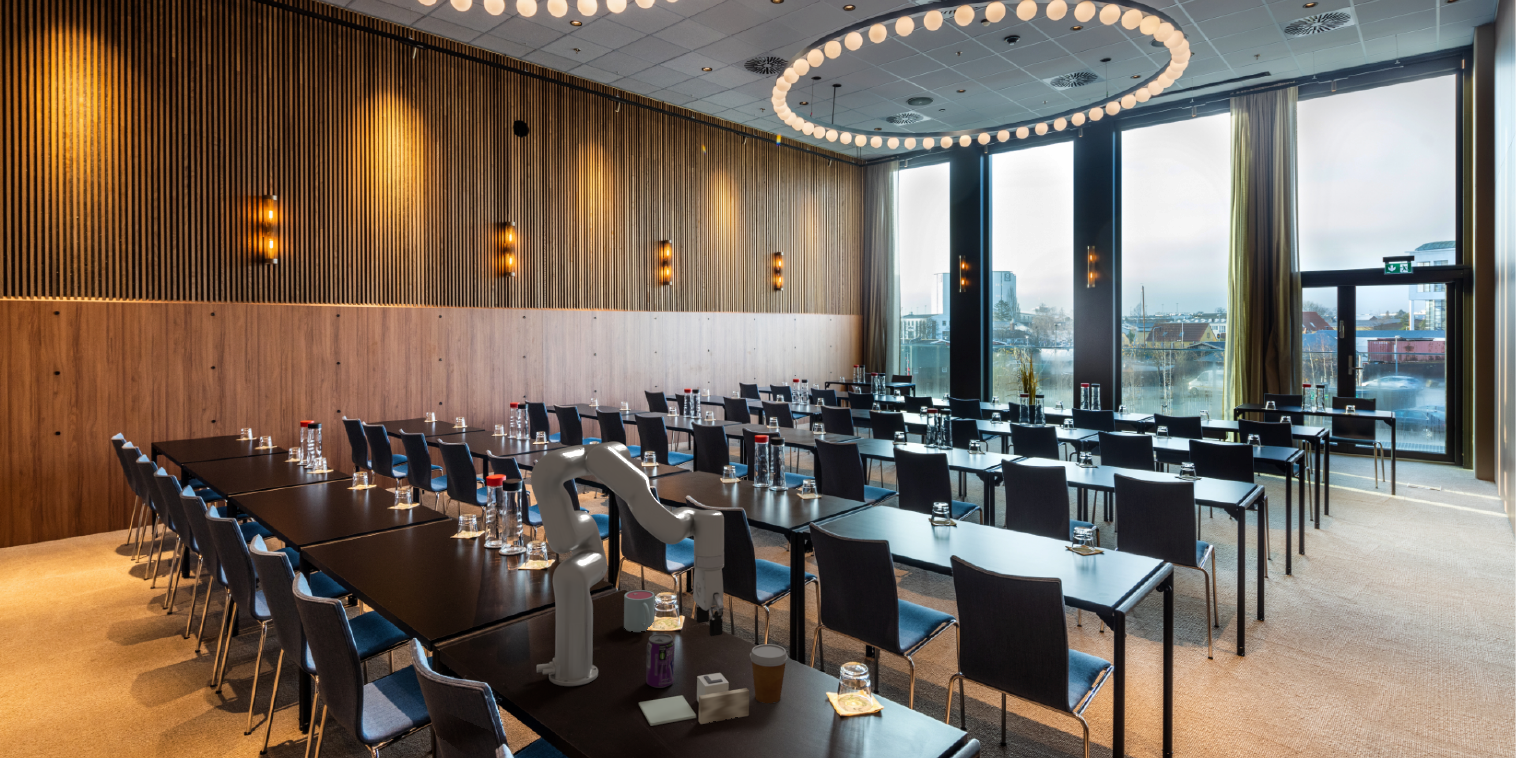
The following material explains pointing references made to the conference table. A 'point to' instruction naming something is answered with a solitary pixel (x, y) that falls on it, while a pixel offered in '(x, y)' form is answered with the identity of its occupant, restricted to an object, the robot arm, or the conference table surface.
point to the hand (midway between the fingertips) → (709, 628)
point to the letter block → (711, 684)
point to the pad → (667, 710)
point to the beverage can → (660, 661)
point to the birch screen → (723, 705)
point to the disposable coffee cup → (768, 671)
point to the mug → (638, 610)
